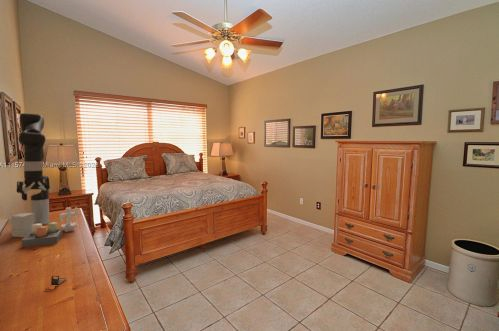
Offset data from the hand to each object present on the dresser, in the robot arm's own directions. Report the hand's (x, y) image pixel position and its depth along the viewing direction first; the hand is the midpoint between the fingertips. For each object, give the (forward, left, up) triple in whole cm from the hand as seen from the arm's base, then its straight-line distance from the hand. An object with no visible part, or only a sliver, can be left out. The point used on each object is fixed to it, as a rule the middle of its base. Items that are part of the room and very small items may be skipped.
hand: (34, 198), depth 131 cm
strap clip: (+53, +19, -26) cm, 62 cm away
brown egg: (+1, +3, -22) cm, 23 cm away
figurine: (-17, +13, -26) cm, 33 cm away
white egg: (-5, 0, -22) cm, 23 cm away
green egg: (-5, +7, -22) cm, 24 cm away
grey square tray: (-2, +3, -25) cm, 26 cm away
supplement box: (-17, -9, -26) cm, 32 cm away
